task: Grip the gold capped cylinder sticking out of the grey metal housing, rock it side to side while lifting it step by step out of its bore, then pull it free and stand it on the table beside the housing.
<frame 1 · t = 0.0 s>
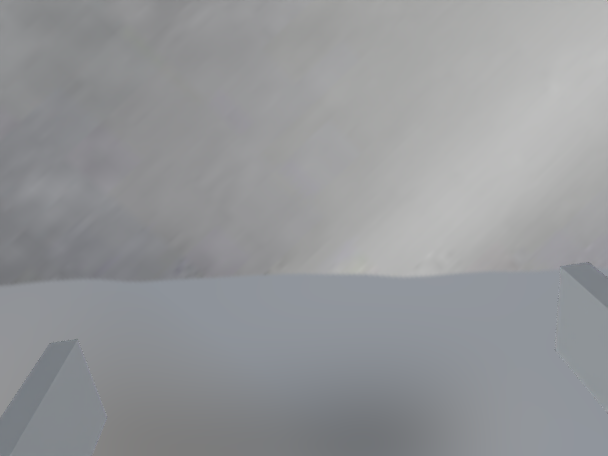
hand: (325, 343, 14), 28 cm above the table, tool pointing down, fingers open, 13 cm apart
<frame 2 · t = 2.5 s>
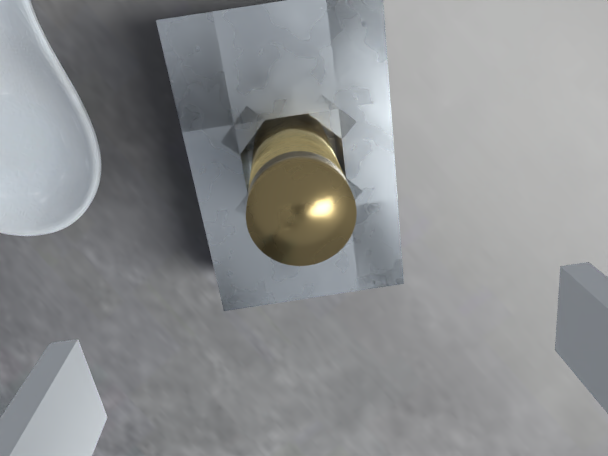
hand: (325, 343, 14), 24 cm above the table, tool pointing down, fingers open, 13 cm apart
spoon rest: (32, 48, 33), on the table
bore housing: (290, 143, 36), on the table
gold capped cylinder: (290, 146, 35), point 1 cm above the table, touching bore housing
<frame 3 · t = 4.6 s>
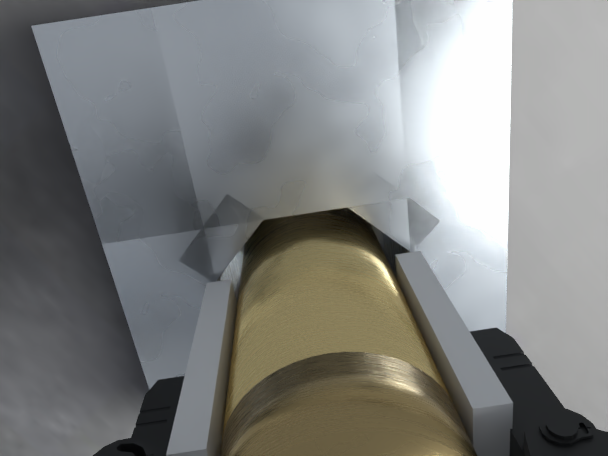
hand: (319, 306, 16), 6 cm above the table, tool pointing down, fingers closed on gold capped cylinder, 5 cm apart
bore housing: (306, 227, 22), on the table
gold capped cylinder: (308, 236, 21), point 1 cm above the table, touching bore housing, gripper
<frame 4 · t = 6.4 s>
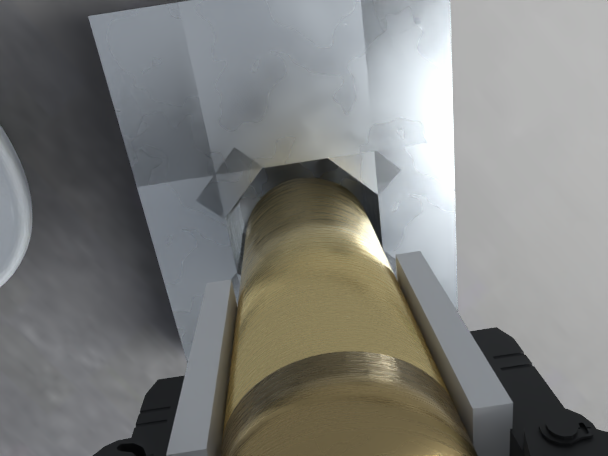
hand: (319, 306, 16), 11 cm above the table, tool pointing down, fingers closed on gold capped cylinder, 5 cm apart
bore housing: (299, 186, 26), on the table
gold capped cylinder: (308, 236, 21), point 6 cm above the table, touching gripper
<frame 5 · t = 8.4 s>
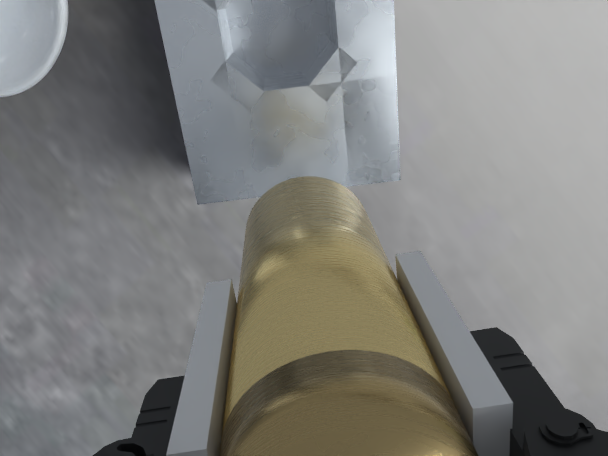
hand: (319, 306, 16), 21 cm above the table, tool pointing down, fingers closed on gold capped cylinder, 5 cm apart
bore housing: (278, 24, 32), on the table
gold capped cylinder: (307, 235, 21), point 16 cm above the table, touching gripper
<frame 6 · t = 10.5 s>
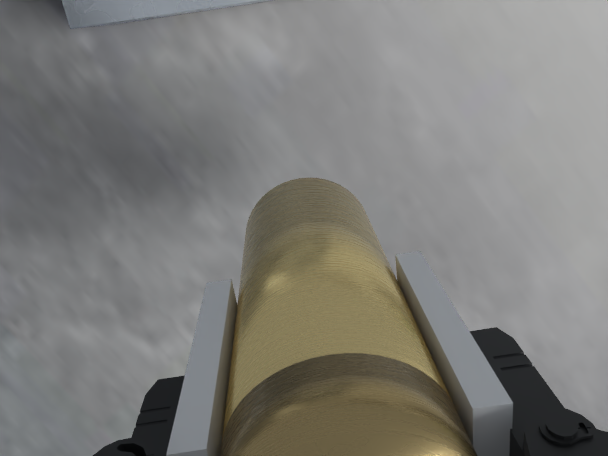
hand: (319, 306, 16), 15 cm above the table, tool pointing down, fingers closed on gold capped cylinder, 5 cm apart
gold capped cylinder: (308, 237, 21), point 10 cm above the table, touching gripper
when the fingers open (7 cm above the table, at t = 12.2 s): gold capped cylinder drops 1 cm, on the table.
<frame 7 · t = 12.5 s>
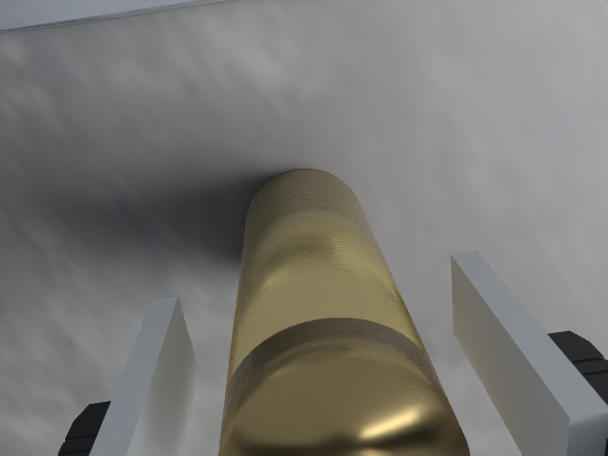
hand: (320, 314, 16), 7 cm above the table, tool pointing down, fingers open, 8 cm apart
gold capped cylinder: (304, 225, 22), on the table
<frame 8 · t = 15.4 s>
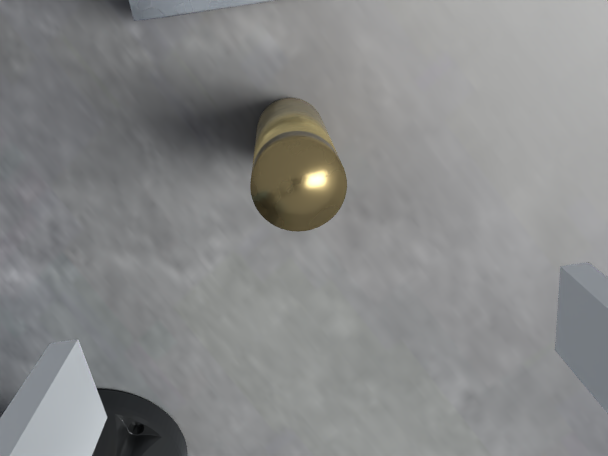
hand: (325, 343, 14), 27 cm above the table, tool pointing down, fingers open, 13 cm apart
gold capped cylinder: (290, 131, 39), on the table
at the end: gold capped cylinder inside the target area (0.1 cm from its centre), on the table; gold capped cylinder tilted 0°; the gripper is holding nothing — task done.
